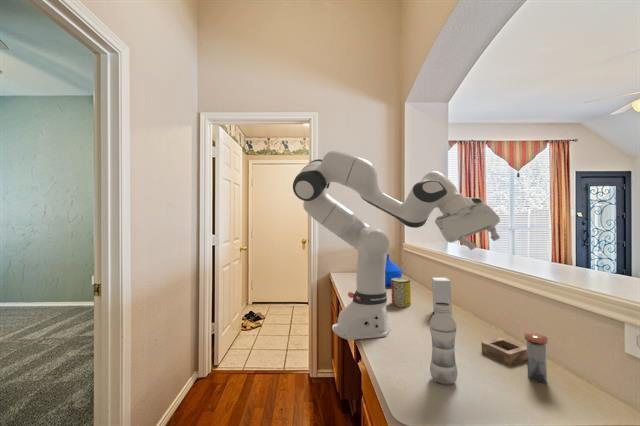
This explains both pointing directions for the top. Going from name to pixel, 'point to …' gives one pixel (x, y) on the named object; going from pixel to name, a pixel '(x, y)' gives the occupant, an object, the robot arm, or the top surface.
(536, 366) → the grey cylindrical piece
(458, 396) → the top surface
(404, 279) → the beverage can
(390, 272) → the vase
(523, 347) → the collar
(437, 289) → the skincare box
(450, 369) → the plastic bottle
